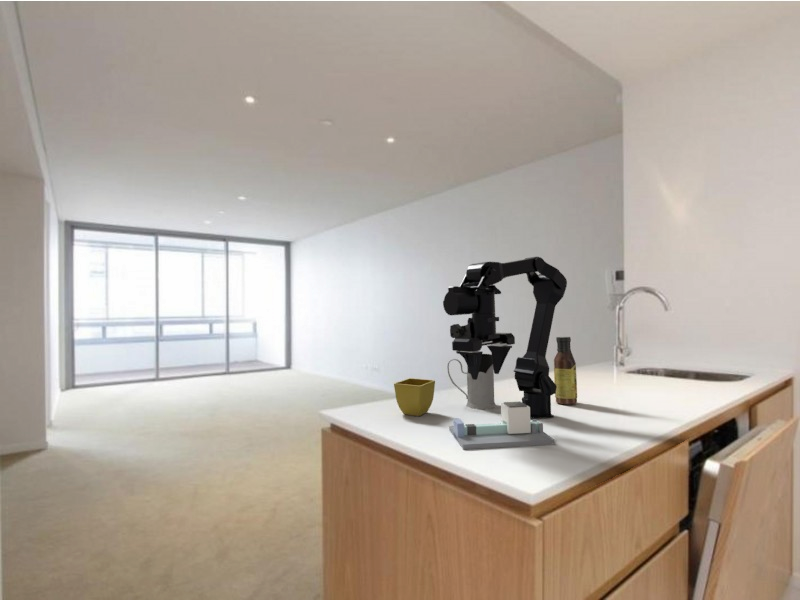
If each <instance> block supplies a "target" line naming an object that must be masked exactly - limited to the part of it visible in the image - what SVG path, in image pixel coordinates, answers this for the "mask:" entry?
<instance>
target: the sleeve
mask: <svg viewBox="0 0 800 600" xmlns="http://www.w3.org/2000/svg"><path fill="white" fill-rule="evenodd" d="M500 417H501V418H500V419H501V422H500V423H507V433H508V434H517V433H531V428H530V422H531V418H530V407H529V406H527V405H525V404H524V403H522V401H505V402H504V401H503V402H501V403H500Z"/></svg>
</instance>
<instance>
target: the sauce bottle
mask: <svg viewBox="0 0 800 600" xmlns="http://www.w3.org/2000/svg"><path fill="white" fill-rule="evenodd" d="M555 338H556V339H555V340H556V343H557V346H556V347H557V348H556V351H557V352H556V355H555V356H554V359H553V376H554V377H553V379H554V380H553V382H554V383H555V384H556V386H557V388H556V393H555V394H554V398H555V402H556V403H557V404H558V405H566V406H567V405H569V406H570V405H576V404H577V403H578V387H577V386H578V385H577V384H578V383H577V382H578V381H577V380H578V379H577V366H576V365H577V364H576V363H577V362H576V360H575V358H574V355H573V353H572V349H571V341H572V339H571V336H556V337H555Z"/></svg>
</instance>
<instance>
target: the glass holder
mask: <svg viewBox="0 0 800 600" xmlns="http://www.w3.org/2000/svg"><path fill="white" fill-rule="evenodd" d="M453 361H457V362H458V364H459V365H460V371H461V373H462V374H465V375H466V385H467V387H466V389H467V392H465V391H464V390H463V389H462V388H460V387H459V386H458V385H457V383H455V382H454V380H453V378H452V376H451V373H450V368H449V367H450V364H451V362H453ZM466 367H467V371H466V372H465V371H463V370H464V369H463V363H462V362H461V361H460V360H459V359H458V358H452V359H449V361H448V363H447V373H448V377H449V379H450V381H451V383H452V384H453V386H455V387H456V388H457V389H458V390H459V391H461V392H462V394H464V396H466V397H465V398H466V401H467V402H466V404H465V405H466V407H467V408H470V409H476V410H489V409H493V408H496V407H497V405H496V402H495V379H494V378H495V376H494V374H495V373H494V369H493V361H492V353H491V354H490V353H482V358H481V363H480V369H479V374H478V378H477V380H473V379H472V376H471V374H470V371H469V369H468V366H467V365H466Z"/></svg>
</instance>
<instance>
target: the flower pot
mask: <svg viewBox="0 0 800 600" xmlns="http://www.w3.org/2000/svg"><path fill="white" fill-rule="evenodd" d="M435 386H436V380H435V379H425V378H424V379H421V378H414V377H411V378H406V379H404V380H401V381H397V382H394V383H393V388H394V393H395V399H396V403H397V405H398V408H399V410H400V411H401V412H402V413H403V415H409V416H415V417H419V416H422V415H424V414H427V413H428V412H429V409H430V408H431V406H432V403H433V400H434V395H435Z"/></svg>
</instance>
